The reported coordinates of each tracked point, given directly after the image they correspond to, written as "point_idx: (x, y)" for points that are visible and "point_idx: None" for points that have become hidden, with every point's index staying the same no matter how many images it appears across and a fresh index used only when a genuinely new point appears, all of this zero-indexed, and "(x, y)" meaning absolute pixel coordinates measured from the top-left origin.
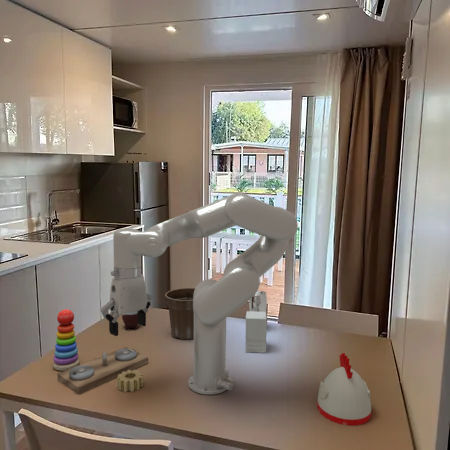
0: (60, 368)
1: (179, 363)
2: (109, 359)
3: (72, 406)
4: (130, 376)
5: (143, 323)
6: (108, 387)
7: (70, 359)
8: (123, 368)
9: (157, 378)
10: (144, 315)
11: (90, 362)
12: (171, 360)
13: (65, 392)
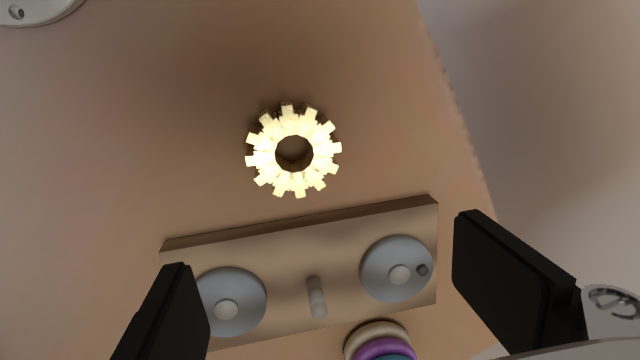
0: (404, 331)
1: (50, 170)
2: (283, 305)
3: (472, 147)
4: (283, 166)
5: (183, 279)
6: (350, 177)
7: (388, 346)
8: (274, 231)
9: (188, 124)
10: (139, 347)
11: (338, 316)
12: (72, 209)
13: (445, 224)
